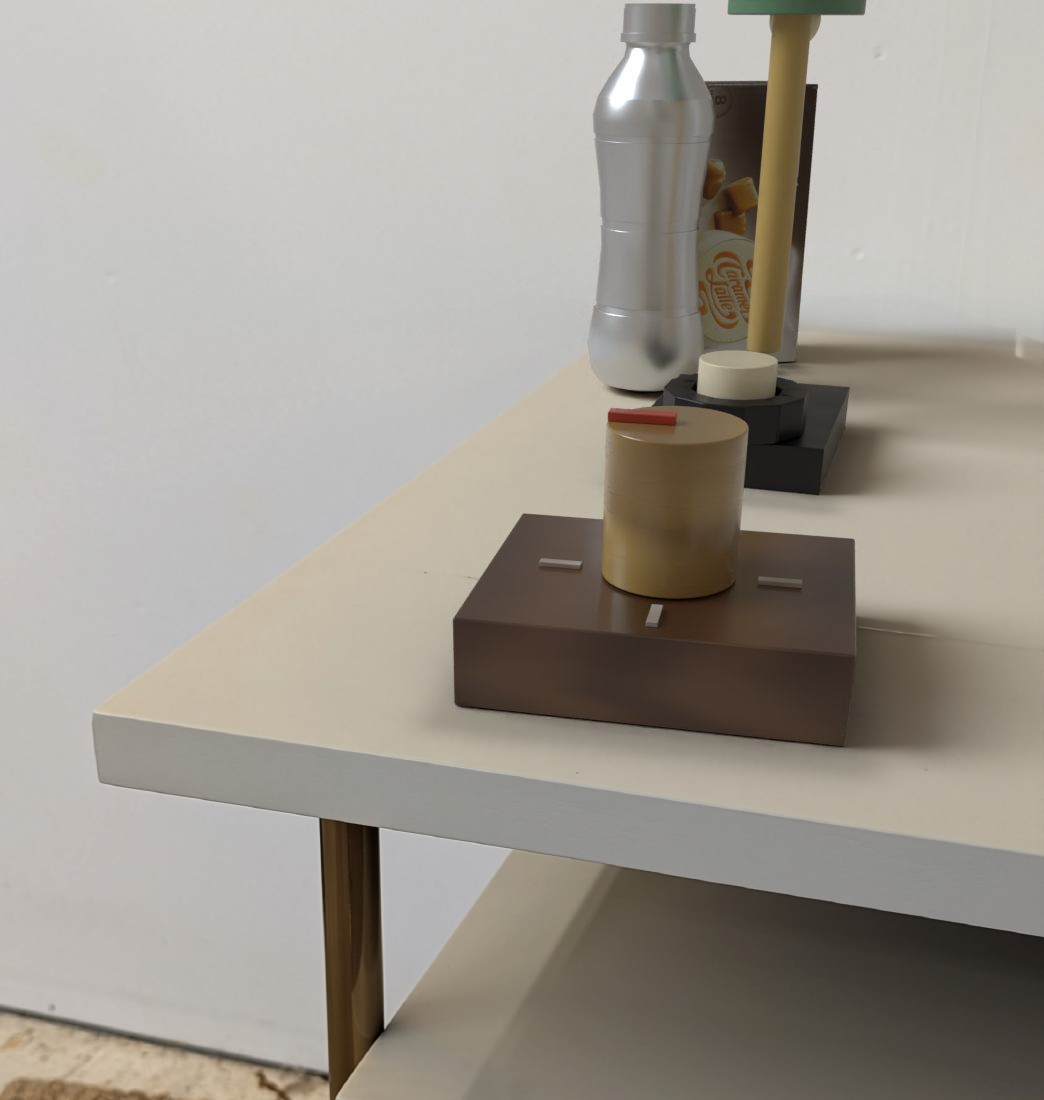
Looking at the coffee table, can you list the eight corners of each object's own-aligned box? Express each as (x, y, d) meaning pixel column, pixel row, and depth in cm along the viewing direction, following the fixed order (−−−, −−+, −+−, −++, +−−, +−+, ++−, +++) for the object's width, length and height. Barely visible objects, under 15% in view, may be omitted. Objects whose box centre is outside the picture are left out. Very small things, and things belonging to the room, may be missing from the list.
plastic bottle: (688, 407, 74) (712, 2, 65) (571, 397, 76) (580, 2, 67) (711, 381, 79) (737, 4, 70) (602, 372, 81) (613, 4, 72)
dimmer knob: (740, 555, 45) (754, 400, 43) (730, 605, 41) (744, 437, 39) (612, 545, 46) (618, 392, 44) (590, 592, 42) (596, 428, 40)
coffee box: (765, 342, 89) (787, 78, 82) (797, 364, 84) (824, 83, 76) (631, 346, 88) (642, 79, 81) (655, 368, 82) (669, 83, 75)
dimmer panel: (845, 616, 48) (855, 533, 47) (844, 747, 39) (857, 650, 38) (522, 587, 50) (522, 508, 49) (453, 705, 42) (451, 613, 40)
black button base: (678, 413, 73) (682, 339, 71) (845, 428, 71) (853, 352, 69) (622, 481, 62) (625, 396, 60) (817, 501, 60) (826, 413, 58)
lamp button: (704, 384, 64) (707, 347, 63) (779, 390, 63) (783, 353, 62) (689, 402, 61) (692, 364, 60) (768, 409, 60) (772, 370, 59)
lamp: (717, 329, 74) (747, -102, 64) (834, 337, 72) (883, -104, 63) (694, 354, 68) (724, -113, 59) (821, 363, 66) (872, -116, 57)
